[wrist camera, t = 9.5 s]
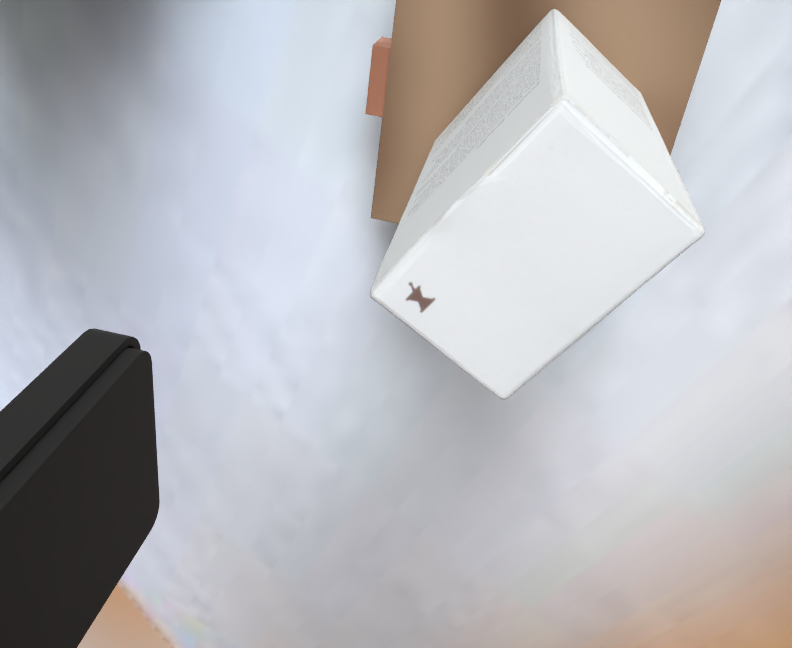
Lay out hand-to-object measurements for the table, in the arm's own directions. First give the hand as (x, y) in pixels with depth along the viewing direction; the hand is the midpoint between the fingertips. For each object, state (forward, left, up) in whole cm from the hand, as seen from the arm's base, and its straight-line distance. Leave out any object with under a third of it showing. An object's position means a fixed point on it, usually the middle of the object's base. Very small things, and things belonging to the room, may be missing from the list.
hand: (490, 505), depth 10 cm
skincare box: (0, 0, -19) cm, 19 cm away
